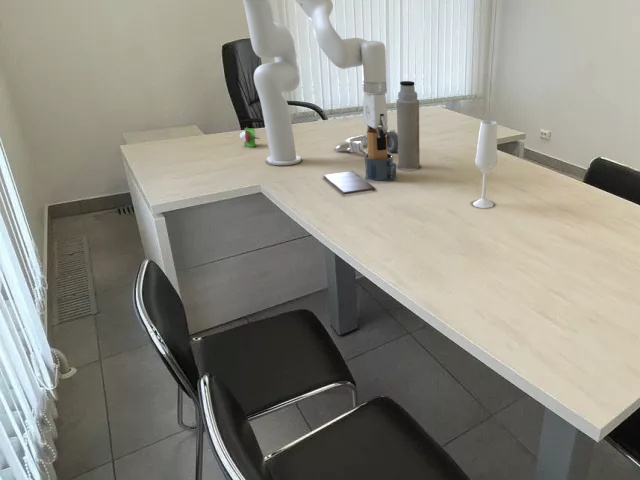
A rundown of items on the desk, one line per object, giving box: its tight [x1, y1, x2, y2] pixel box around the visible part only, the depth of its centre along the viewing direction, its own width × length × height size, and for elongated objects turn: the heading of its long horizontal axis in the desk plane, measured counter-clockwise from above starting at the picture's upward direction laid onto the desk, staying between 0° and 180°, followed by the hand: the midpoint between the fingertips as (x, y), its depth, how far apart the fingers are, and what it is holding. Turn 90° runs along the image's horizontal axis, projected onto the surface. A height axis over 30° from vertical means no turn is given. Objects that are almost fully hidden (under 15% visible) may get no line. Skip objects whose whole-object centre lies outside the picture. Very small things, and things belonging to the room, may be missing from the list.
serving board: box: [322, 170, 376, 195], centre depth 182 cm, size 20×11×1 cm, turn 30°
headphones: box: [333, 129, 398, 156], centre depth 213 cm, size 22×8×22 cm
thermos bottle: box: [396, 80, 421, 170], centre depth 191 cm, size 8×8×28 cm
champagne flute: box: [472, 120, 498, 209], centre depth 163 cm, size 7×7×24 cm
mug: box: [364, 152, 398, 182], centre depth 185 cm, size 13×10×8 cm
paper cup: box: [366, 129, 388, 160], centre depth 183 cm, size 7×7×13 cm
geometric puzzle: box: [239, 127, 261, 148], centre depth 214 cm, size 7×7×8 cm
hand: (377, 146), depth 182 cm, fingers closed on paper cup, 6 cm apart
